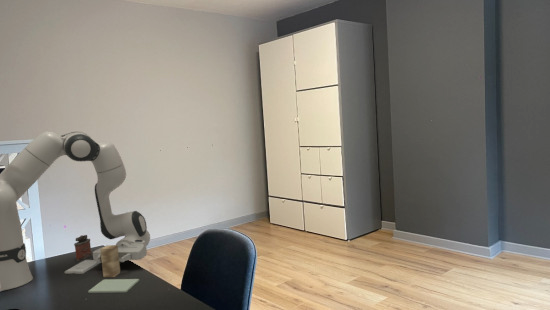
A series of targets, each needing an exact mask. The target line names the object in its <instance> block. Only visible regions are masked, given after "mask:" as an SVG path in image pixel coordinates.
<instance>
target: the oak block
mask: <svg viewBox="0 0 550 310" xmlns="http://www.w3.org/2000/svg"><path fill="white" fill-rule="evenodd" d="M102 247H103V248H102ZM102 247H101V248H102V249H100V251H101V260H102V262H101V267H102V275H103V276H102V277H103V278H115V277H116V276H118V275H120V273H121V266H120V262H119V255H118V246H117V245H116V244H114V245H113V244H112V245H109V244H108V245H105V246H102Z"/></svg>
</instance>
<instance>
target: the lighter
mask: <svg viewBox="0 0 550 310" xmlns="http://www.w3.org/2000/svg"><path fill="white" fill-rule="evenodd" d="M73 245H74V249H75V261H76V262H82V261H84V260H87V259H88V258H90V257H93V252H92V249H91V248H92V247H91V238H88V234H83V235H80V236H78V237H75V243H73Z"/></svg>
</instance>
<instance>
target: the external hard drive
mask: <svg viewBox="0 0 550 310" xmlns="http://www.w3.org/2000/svg"><path fill="white" fill-rule="evenodd" d="M100 264H102V262H96V261H95V260H94V259H84V260H81V261H79V262H78V263H77V264H75V265H73V266H72V267H70V268H68V269H66V270H65V271H64V274H82V275H83V274H85V273H86V272H87V271H90V270H91V269H93V268H94V267H95V268H96V267H97V266H98V265H100Z"/></svg>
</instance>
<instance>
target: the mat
mask: <svg viewBox="0 0 550 310" xmlns="http://www.w3.org/2000/svg"><path fill="white" fill-rule="evenodd" d="M139 281H140V279H139V278H129V279H128V278H127V279H126V278H120V279H119V278H118V279H116V278H115V279H114V278H113V279H112V278H111V279H110V278H108V279H106V278H105V279H102V280H101V281H100V282H98V283H97V284H96V285H94V286H93V287H91V289H89V290H88V291H87V292H88V293H89V294H90V293H94V294H95V293H96V294H98V293H107V294H108V293H110V294H111V293H127V292H129V291H130V290H131V289H132V288H133V287H134V286H135V285H136V284H137V283H138V282H139Z"/></svg>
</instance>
